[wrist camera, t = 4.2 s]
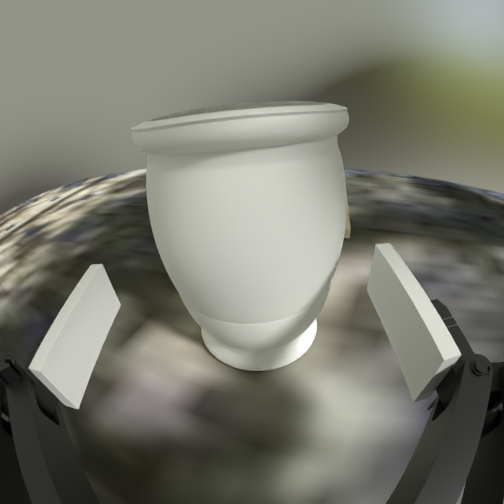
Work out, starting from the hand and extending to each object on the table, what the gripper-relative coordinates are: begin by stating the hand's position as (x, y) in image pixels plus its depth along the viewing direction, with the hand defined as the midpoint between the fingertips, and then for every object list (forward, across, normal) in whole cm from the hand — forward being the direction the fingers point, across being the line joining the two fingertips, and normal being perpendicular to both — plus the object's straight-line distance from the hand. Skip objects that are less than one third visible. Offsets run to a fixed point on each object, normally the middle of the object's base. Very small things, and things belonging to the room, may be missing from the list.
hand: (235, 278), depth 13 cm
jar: (+4, +1, -8) cm, 9 cm away
